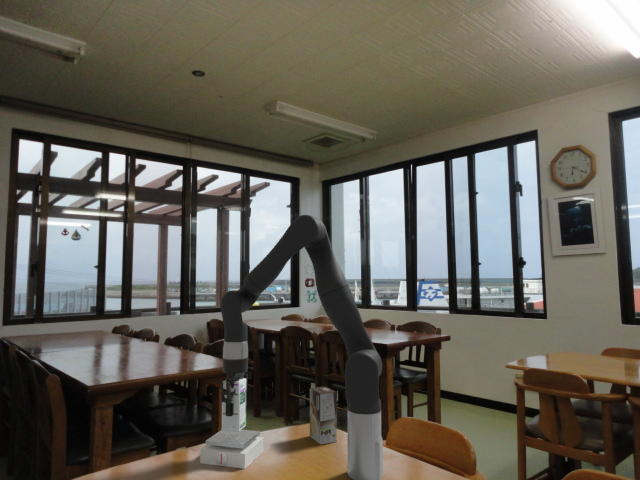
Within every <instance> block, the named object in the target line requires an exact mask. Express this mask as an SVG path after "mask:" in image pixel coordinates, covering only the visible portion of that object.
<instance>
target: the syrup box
mask: <svg viewBox="0 0 640 480" xmlns="http://www.w3.org/2000/svg"><path fill="white" fill-rule="evenodd" d="M238 380H240V381H234V388H231V392H233V391H234V389H236V395H235V396H234V402H233V403H234V409H233V416H226V403H225V402H222V401H221V430H223V431H232V432H240V430H244V428H245V427H247V393H246V378H243V379H238ZM222 382H226V379H225V380H223V381H222ZM225 396H226V395H225ZM231 396H232V395H231Z"/></svg>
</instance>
